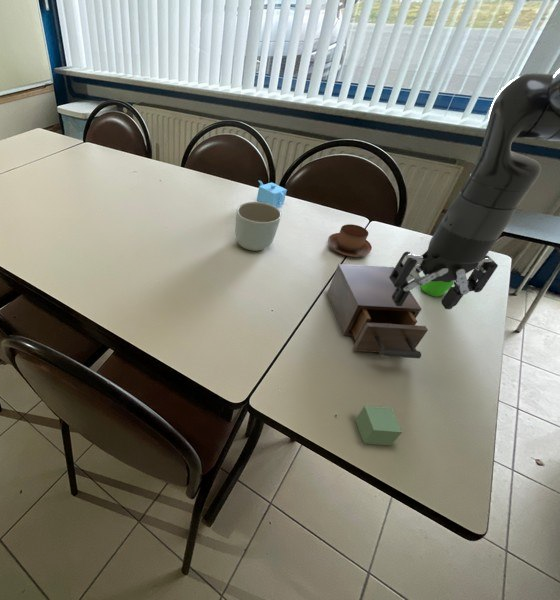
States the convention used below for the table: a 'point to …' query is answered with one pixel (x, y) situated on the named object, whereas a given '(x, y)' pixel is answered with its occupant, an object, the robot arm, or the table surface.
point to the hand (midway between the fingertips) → (420, 304)
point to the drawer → (388, 333)
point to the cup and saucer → (350, 241)
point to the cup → (436, 287)
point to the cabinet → (364, 293)
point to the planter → (256, 225)
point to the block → (378, 425)
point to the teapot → (271, 194)
